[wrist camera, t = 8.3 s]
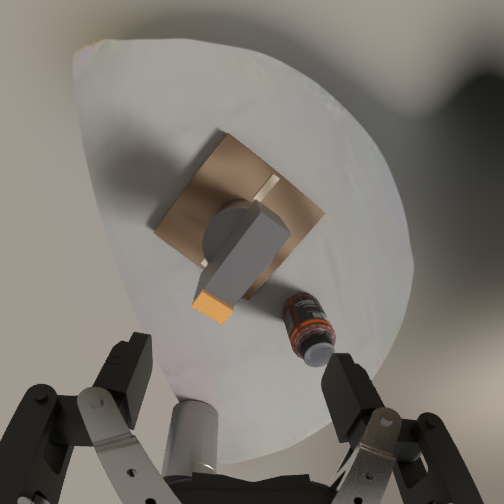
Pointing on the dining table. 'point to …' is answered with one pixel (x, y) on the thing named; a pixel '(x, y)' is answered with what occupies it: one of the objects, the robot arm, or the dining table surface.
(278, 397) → the dining table surface
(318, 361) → the supplement bottle
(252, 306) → the dining table surface
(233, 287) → the wing cap
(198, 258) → the base
